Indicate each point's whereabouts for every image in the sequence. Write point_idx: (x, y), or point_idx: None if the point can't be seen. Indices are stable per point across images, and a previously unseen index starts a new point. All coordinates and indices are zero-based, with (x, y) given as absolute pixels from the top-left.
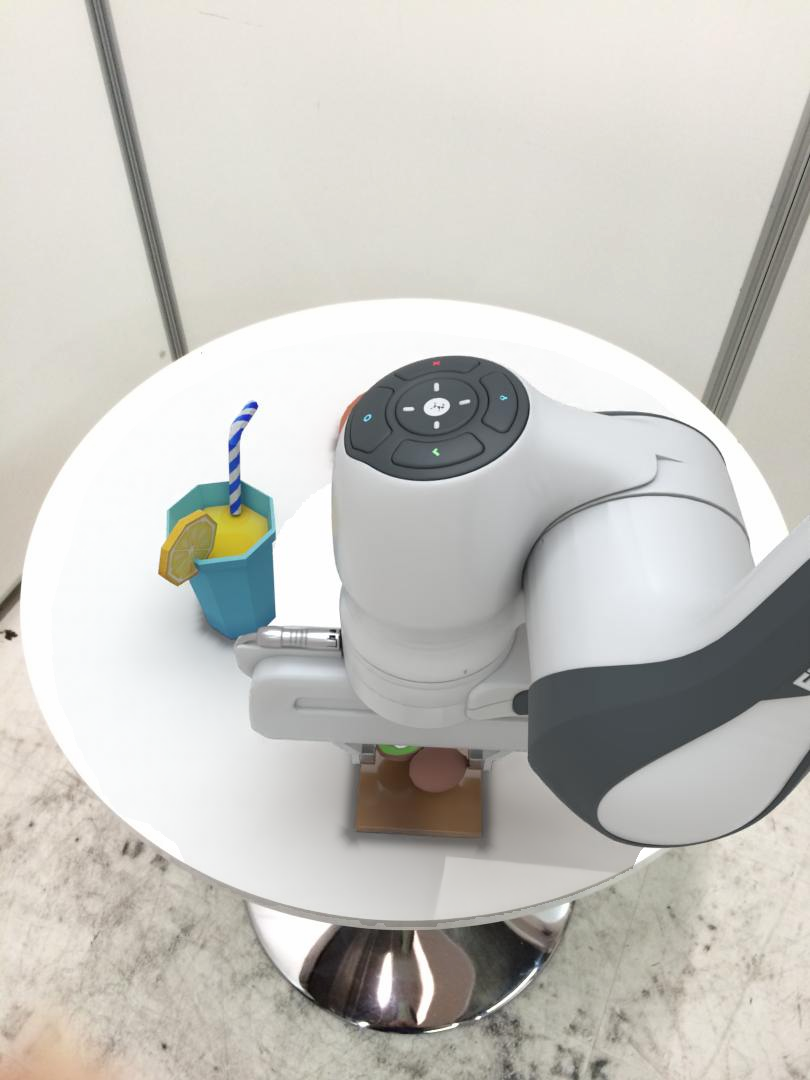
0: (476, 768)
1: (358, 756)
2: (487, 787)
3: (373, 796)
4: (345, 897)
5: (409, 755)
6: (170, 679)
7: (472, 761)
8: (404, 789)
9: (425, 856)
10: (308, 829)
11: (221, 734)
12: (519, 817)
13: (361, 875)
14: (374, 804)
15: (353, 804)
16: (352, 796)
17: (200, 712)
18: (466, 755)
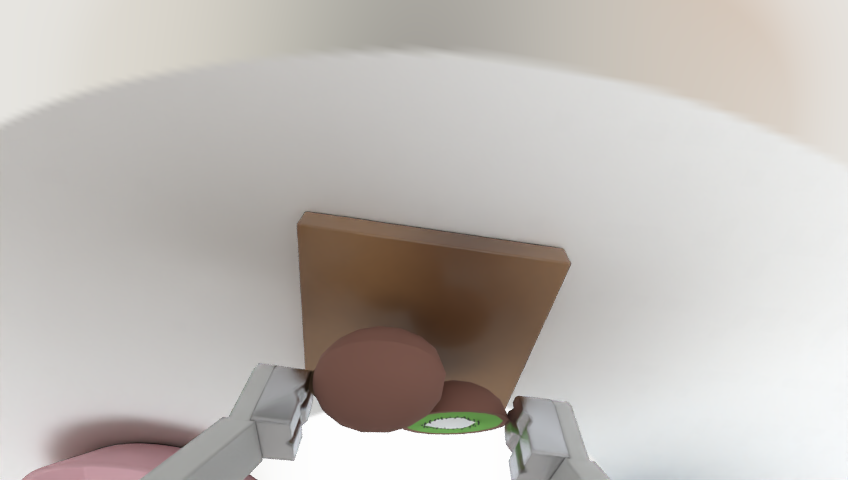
0: (286, 378)
1: (567, 443)
2: (296, 293)
3: (518, 310)
4: (630, 114)
5: (440, 408)
6: (777, 465)
7: (285, 413)
8: (453, 314)
9: (425, 187)
10: (657, 260)
11: (741, 404)
12: (229, 240)
13: (577, 161)
14: (519, 297)
15: None
16: None
17: (757, 430)
18: None
